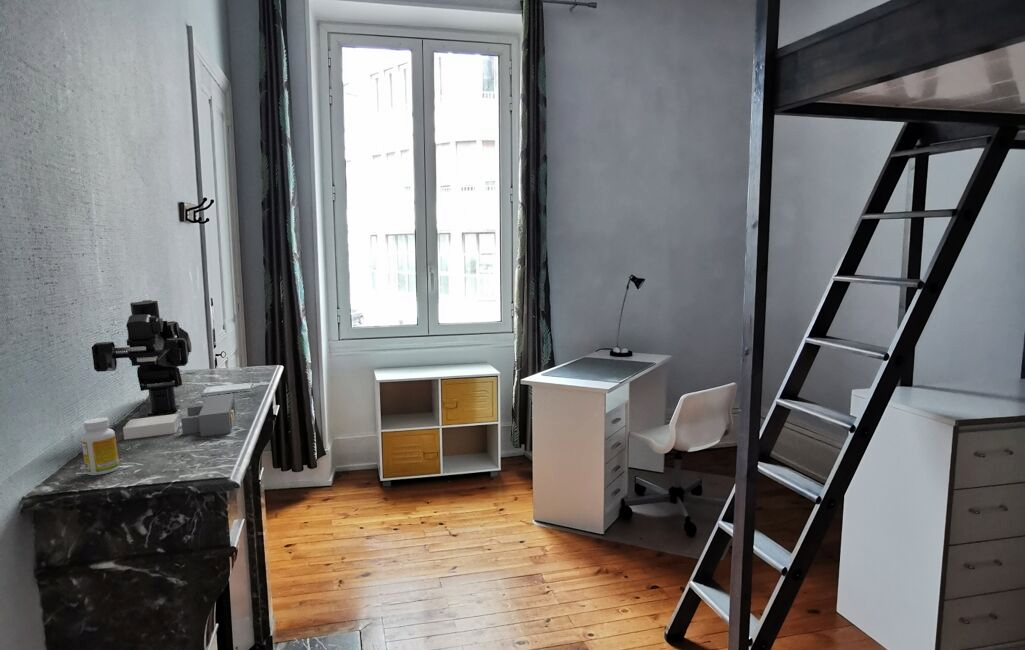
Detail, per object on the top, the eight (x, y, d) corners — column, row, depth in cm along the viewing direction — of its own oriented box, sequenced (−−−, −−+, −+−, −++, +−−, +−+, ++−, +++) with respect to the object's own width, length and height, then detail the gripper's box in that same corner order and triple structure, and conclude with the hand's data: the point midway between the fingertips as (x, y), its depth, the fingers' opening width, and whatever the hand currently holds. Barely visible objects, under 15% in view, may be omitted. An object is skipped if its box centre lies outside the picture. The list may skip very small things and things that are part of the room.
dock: (191, 417, 165) (189, 398, 164) (235, 411, 168) (233, 393, 168) (180, 439, 146) (178, 418, 146) (230, 432, 149) (228, 412, 149)
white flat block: (131, 430, 156) (130, 419, 155) (179, 424, 159) (178, 413, 158) (124, 439, 148) (122, 428, 148) (175, 433, 151) (173, 422, 151)
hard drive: (252, 382, 199) (206, 386, 196) (250, 387, 191) (202, 392, 188) (253, 387, 199) (207, 391, 196) (251, 393, 191) (202, 398, 188)
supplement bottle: (125, 465, 130) (119, 415, 129) (108, 475, 125) (101, 423, 124) (98, 466, 130) (91, 416, 129) (79, 476, 125) (72, 424, 124)
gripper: (98, 315, 156) (78, 329, 141) (187, 311, 161) (177, 324, 147) (104, 362, 158) (85, 381, 144) (192, 356, 164) (182, 374, 149)
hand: (133, 363), depth 146 cm, fingers open, 9 cm apart
